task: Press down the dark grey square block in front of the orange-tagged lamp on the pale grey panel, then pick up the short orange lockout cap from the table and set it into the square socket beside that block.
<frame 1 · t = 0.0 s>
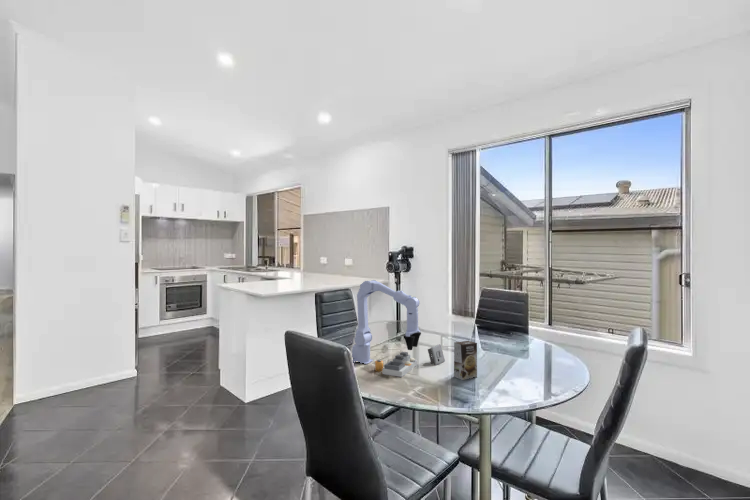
hand: (412, 348, 185), 10 cm above the table, tool pointing down, fingers open, 7 cm apart
coffee box: (465, 377, 172), on the table
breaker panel: (400, 369, 184), on the table
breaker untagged: (404, 354, 191), point 5 cm above the table, slide at 0.0 cm
lockout cap: (379, 370, 182), on the table
electrical switch: (436, 363, 195), on the table
dark grey square block: (399, 357, 185), point 5 cm above the table, slide at 0.0 cm
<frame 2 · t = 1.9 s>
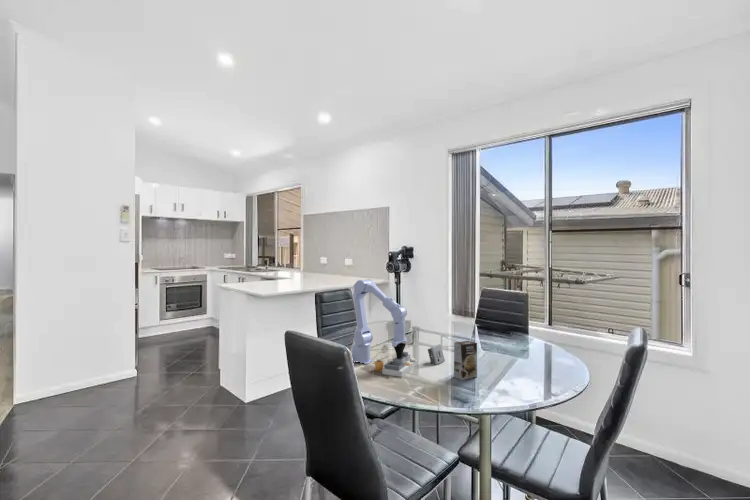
hand: (399, 357, 185), 5 cm above the table, tool pointing down, fingers closed, pressing on dark grey square block
dark grey square block: (399, 360, 185), point 4 cm above the table, slide at 1.2 cm, touching gripper
everything else where it was.
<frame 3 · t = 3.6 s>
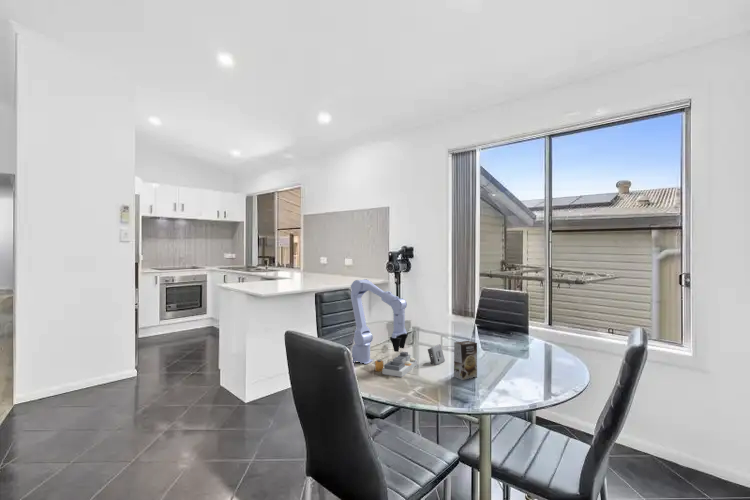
hand: (399, 349, 185), 9 cm above the table, tool pointing down, fingers open, 7 cm apart
dark grey square block: (399, 360, 185), point 4 cm above the table, slide at 1.3 cm
everything else where it was.
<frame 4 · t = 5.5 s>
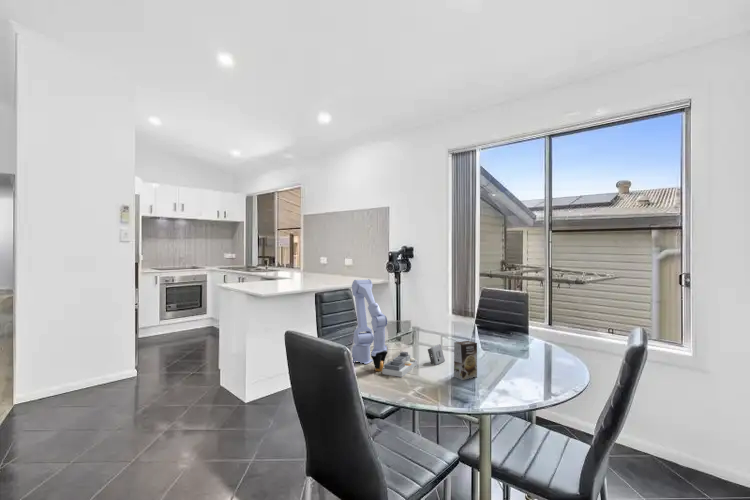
hand: (379, 367, 182), 1 cm above the table, tool pointing down, fingers closed on lockout cap, 4 cm apart
lockout cap: (379, 370, 182), on the table, touching gripper
everything else where it was.
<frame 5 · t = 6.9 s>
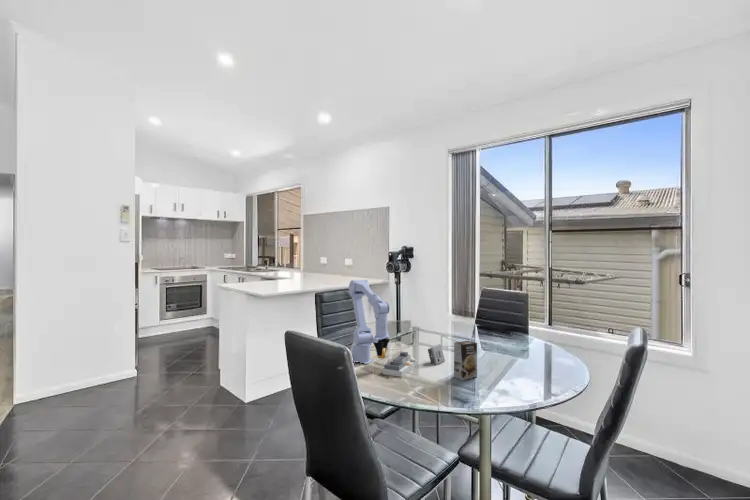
hand: (381, 354, 182), 8 cm above the table, tool pointing down, fingers closed on lockout cap, 4 cm apart
lockout cap: (381, 357, 182), point 7 cm above the table, touching gripper
everything else where it was.
when the fingers open (5 cm above the table, at t = 8.5 s): lockout cap stays where it is, resting on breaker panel.
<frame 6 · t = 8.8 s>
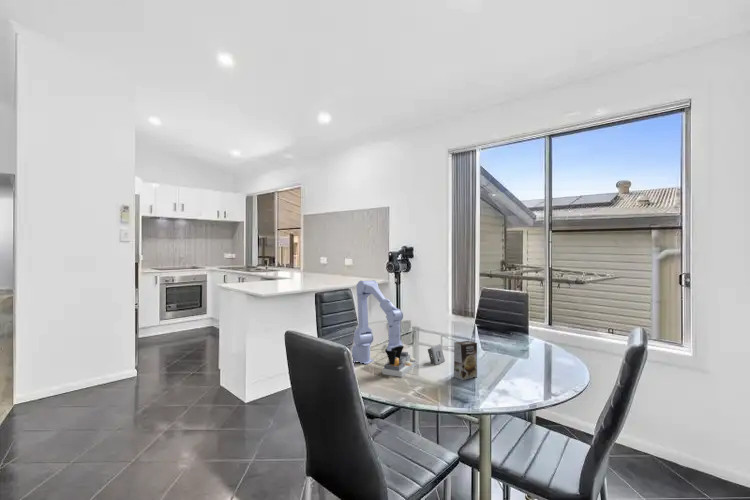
hand: (394, 362, 178), 5 cm above the table, tool pointing down, fingers open, 6 cm apart
lockout cap: (394, 367, 178), point 2 cm above the table, touching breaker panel
everything else where it was.
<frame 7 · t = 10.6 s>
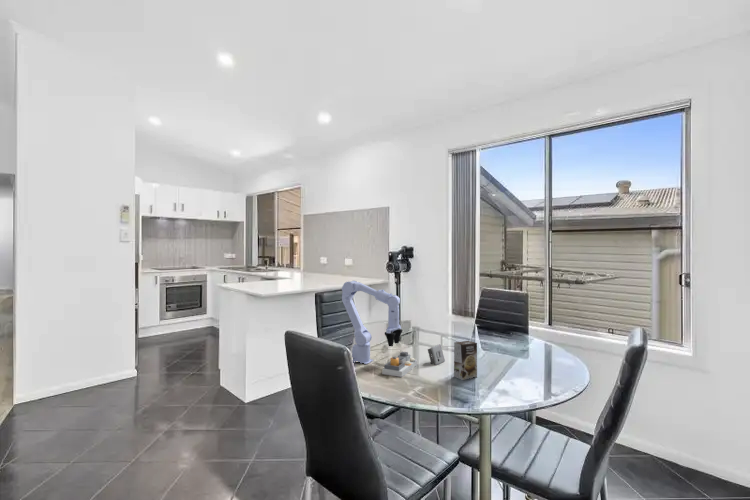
hand: (393, 344, 192), 10 cm above the table, tool pointing down, fingers open, 7 cm apart
nothing on the table moved.
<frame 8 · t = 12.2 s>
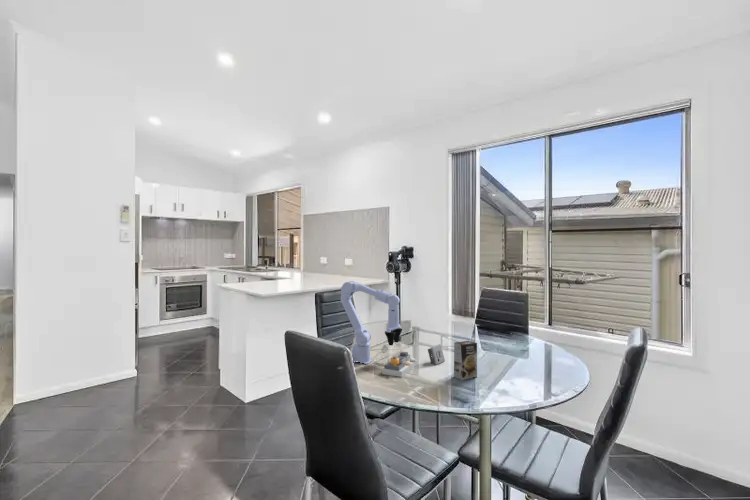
hand: (393, 343, 194), 10 cm above the table, tool pointing down, fingers open, 7 cm apart
nothing on the table moved.
at the end: dark grey square block slide at 1.3 cm; lockout cap 0.0 cm from the target spot on the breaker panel, point 2.6 cm above the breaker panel's base; lockout cap tilted 2° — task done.
